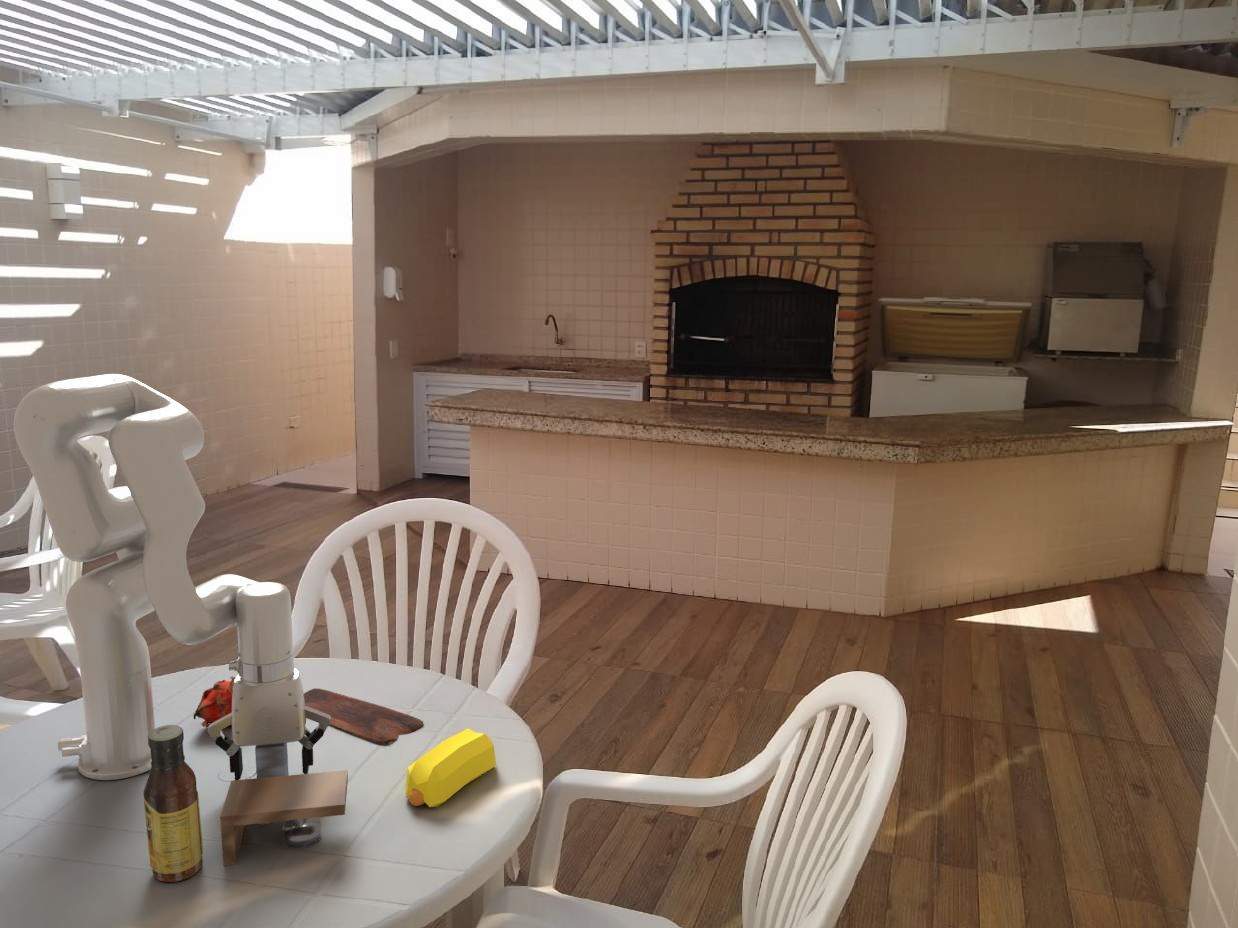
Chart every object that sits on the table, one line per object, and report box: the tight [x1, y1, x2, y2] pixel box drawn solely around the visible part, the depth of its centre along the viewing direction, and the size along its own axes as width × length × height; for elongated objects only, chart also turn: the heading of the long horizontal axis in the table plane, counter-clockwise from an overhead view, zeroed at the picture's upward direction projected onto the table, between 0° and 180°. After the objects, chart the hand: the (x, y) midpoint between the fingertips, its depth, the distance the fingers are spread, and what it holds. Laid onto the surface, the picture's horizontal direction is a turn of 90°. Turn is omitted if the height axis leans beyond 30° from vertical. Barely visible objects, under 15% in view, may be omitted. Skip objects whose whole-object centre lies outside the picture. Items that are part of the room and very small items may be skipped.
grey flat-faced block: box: [254, 743, 290, 826], centre depth 141 cm, size 4×13×7 cm, turn 13°
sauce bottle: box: [142, 724, 204, 883], centre depth 123 cm, size 6×6×20 cm
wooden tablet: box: [303, 688, 424, 746], centre depth 169 cm, size 26×2×10 cm
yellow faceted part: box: [405, 727, 497, 808], centre depth 147 cm, size 18×7×8 cm
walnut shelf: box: [219, 769, 349, 866], centre depth 132 cm, size 16×9×7 cm, turn 103°
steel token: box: [282, 817, 322, 849], centre depth 133 cm, size 5×5×2 cm
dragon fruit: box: [193, 676, 236, 729], centre depth 164 cm, size 8×8×12 cm
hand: (272, 772), depth 146 cm, fingers open, 9 cm apart
